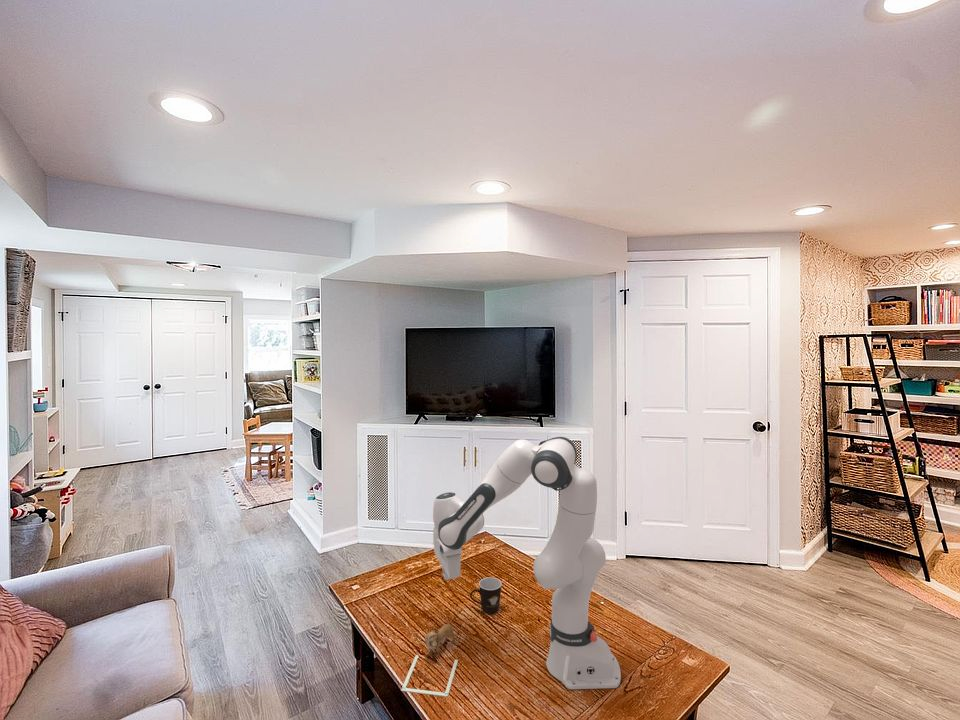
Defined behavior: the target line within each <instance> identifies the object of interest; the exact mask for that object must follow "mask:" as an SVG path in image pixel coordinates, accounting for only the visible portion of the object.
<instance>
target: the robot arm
mask: <svg viewBox="0 0 960 720" xmlns="http://www.w3.org/2000/svg"><path fill="white" fill-rule="evenodd" d="M577 453H578V451H577V448H576V445H575V444H574V442H573V441H572V440H571V439H569V438H567V437H565V436H556V437H555V436H554V437H552V438H549V439H546V440H542V441H540V442H539V444H538V445H536V444H533V442H531V441H529V440H527V439H524V438H523V439H517V440H515V441H514V442H512V443H511V444H510V445H509V446H508V447H507V448H506V449H505V450H503V452H502V453H501V454H500V455H499V456H498V458H496V460H495V461H494V462H493V464H492V465H491V467H490V469H489V470H488V471H487V472H486V475H484V477H483V479H482V480H481V482H480V483H479V484H478V486H477V487H476V489H475V490H474V491H473V492H472V494H471V495H470V496H469V497H468V498H467V500H465V501H463V500H462V499H461V498H460V497H459V495H458V494H457V493H456V492H451V491H450V492H445V493H441V494H439V495H437V496H436V497H435V498H434V501H433V509H432V510H433V511H432V514H433V515H432V519H433V524H434V525H433V530H432V532H433V533H432V536H433V543H432V545H433V551H434V555H435V556H436V558H437V560H438V561H439V563H440V565H441V570H442V577H443V578H444V580H445V581H448V580H453V579H454V580H455V579H458V578H460V575H461V565H462V556H461V554H462V553H463V546H464V545H465V544H466V543H467V542H468V541H469V540H471V539H472V538H473V537H474V536H476V535H477V534H478V533H479V532H480V531H481V530H482V529H483V527H484V526H485V518H484V513H485V512H486V511H487V510H488V509H489V508H491V507H493V506H494V505H496V504H497V503H499V502H500V501H502V500H504V499H505V498H507V497H509V496H510V495H512V494H513V493H514V492H516V491H517V490H519V488H521V486H522V485H523V484H524V483H525V482H526V481H527V479H528V478H529V477H531V475H532V477H533V479H534V480H535V481H536V482H537V483H538V484H540V486H541V485H542V486H544V487H546V488H551V489H552V490H554V491H556V492H557V491H558V492H559V498H558V499H559V501H558V507H557V513H556V514H557V515H556V520H555V524H554V528H553V531H552V533H551V535H550V538H549V540H547V543H546V545H545V547H544V548H543V550H542V551H541V552H540V553H539V554H538V555H537V557H535V559H534V561H533V568H532V569H533V574H534V578H535V581H537V583H538V584H539V585H540V587H542V588H544V589H545V590H554V592H553V594H552V596H551V597H552V598H551V618H550V623H549V639H550V644H549V650H548V655H547V658H546V663H545V664H546V668H547V670H548V672H549V674H551V676H553V677H554V678H555V679H556V680H558V681H560V683H562V684H563V685H564V686H565V687H566V689H568V690H591V689H593V690H594V689H596V690H597V689H617V688H618V687H619V686H620V684H621V682H622V681H621V680H622V676H621V675H622V674H621V667H620V664H619V661H618V660H617V658H616V656H615V655H614V654H613V653H612V652H611V649H610V647H609V645H608V643H607V642H606V640H604V639H603V638H601V637H600V636H598V635H597V633H596V632H595V626H594V623H593V621H592V620H590V622H589V603H590V598H591V593H592V591H593V587H594V584H595V582H596V579H597V577H598V575H599V574H600V572H601V570H602V569H603V568H604V567H605V564H606V561H607V559H606V556H607V555H606V551H605V549H604V547H603V546H602V544H601V543H600V542H599V541H598V540H597V539H595V538H592V535H593V533H594V527H595V520H596V519H595V518H596V512H597V504H598V487H597V486H598V485H597V479H596V476H595V475H594V474H593V472H591V471H589V470H587V469H584V468H581V467H579V466H577V464H575V463H576V461H577V458H578V454H577Z"/></svg>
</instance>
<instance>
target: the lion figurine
mask: <svg viewBox="0 0 960 720" xmlns="http://www.w3.org/2000/svg"><path fill="white" fill-rule="evenodd" d="M447 636H448V637H449V639H452V640H451V643H452V644H455V643H456V635H455V634H454V629H453V625H452V624H450V623H449V624H448V623H447V624H443V625H442V626H441V627H440V628H439V629H438V630H429V631H428V632H427V633H426V635H425V637H424V643H425V645H426V648H427V649H429V651H428V655H433V650H435V657H436V658H438V657H440V644H441V645H442V644H444V643H445V642H446V639H447Z"/></svg>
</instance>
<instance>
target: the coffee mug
mask: <svg viewBox="0 0 960 720" xmlns="http://www.w3.org/2000/svg"><path fill="white" fill-rule="evenodd" d="M475 592H478V594H479V595H480V596H479V597H480V601H479V600H476V599H474V597H472V594H473V593H475ZM501 592H502V581H501V580H500V579H499V578H496V577H493V576H492V577H491V576H490V577H489V576H488V577H484V578H482V579H480V580H479V582H478V589H473V590H471V592H470V594H469V597H470V599H471V600H472V601H473V602H474V603H477V604H479V605H480V606H481V611H482V612H483V613H484V614H486V615H494V614H497V613H498V612H499V609H500V604H501V603H500V602H501V601H500V600H501V594H502V593H501Z"/></svg>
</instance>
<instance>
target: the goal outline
mask: <svg viewBox="0 0 960 720" xmlns="http://www.w3.org/2000/svg"><path fill="white" fill-rule="evenodd" d="M419 656H420V655H418V654H415V655H414V658H413V661H412V663H411V666H410V668H409V670H408V673H407V675H406V677H405V679H404V682H403V684H402V687H401V689H400V691H401V692H407V693H414V694H423V695H431V696H437V697H449V693H450V690H451V686H452V683H453V679H454V676H455V673H456V672H455V671H456V669H457V665H458V662H459V659H454V662H453V665H452V669H451V672H450V675H449V679H448V682H447V686H446V689H445V691H444V692H442V691H433V690H426V689H425V690H424V689H417V688H409V687H407V686H408V684H409V681H410V678H411V676H412V673H413V671H414V669H415V666H416V664H417V662H418V659H419Z"/></svg>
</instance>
